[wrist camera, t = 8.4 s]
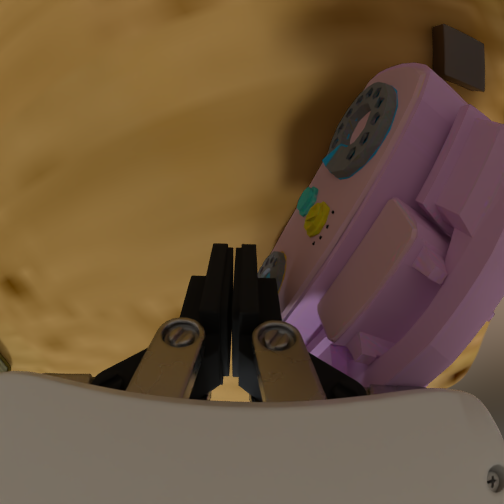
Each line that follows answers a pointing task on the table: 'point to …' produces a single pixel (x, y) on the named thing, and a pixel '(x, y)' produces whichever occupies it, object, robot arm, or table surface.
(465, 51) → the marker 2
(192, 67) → the table surface
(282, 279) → the toy telephone
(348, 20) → the table surface
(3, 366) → the hardcover book
